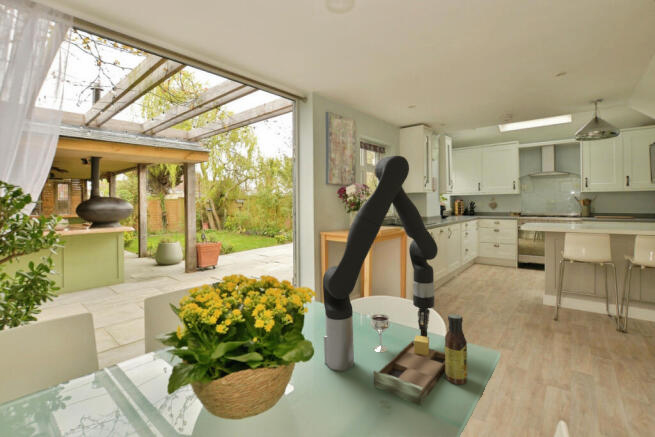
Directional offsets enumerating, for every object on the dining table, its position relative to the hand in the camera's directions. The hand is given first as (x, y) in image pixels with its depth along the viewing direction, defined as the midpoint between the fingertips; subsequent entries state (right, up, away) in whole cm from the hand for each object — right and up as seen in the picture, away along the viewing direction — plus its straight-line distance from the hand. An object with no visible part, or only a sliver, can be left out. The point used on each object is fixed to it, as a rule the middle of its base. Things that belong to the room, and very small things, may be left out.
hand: (424, 338), depth 113 cm
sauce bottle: (+4, -5, -20) cm, 21 cm away
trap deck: (-8, -5, -16) cm, 18 cm away
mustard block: (-3, -2, -6) cm, 7 cm away
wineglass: (-16, -4, 0) cm, 17 cm away
